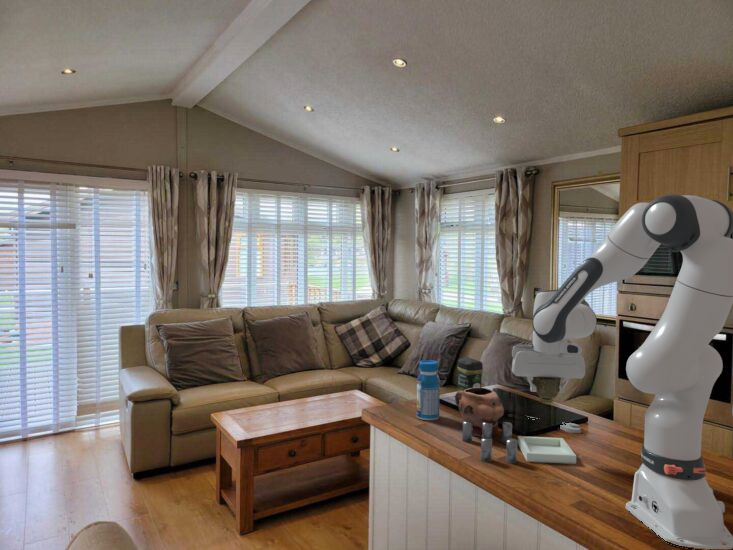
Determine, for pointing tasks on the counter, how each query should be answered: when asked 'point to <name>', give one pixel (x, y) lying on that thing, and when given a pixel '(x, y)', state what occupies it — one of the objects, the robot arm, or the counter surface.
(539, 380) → the cup
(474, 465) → the counter surface
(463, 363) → the coffee jar
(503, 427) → the spacer field
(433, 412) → the beverage bottle
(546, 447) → the tray
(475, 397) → the decorative planter
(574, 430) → the adjustable wrench
